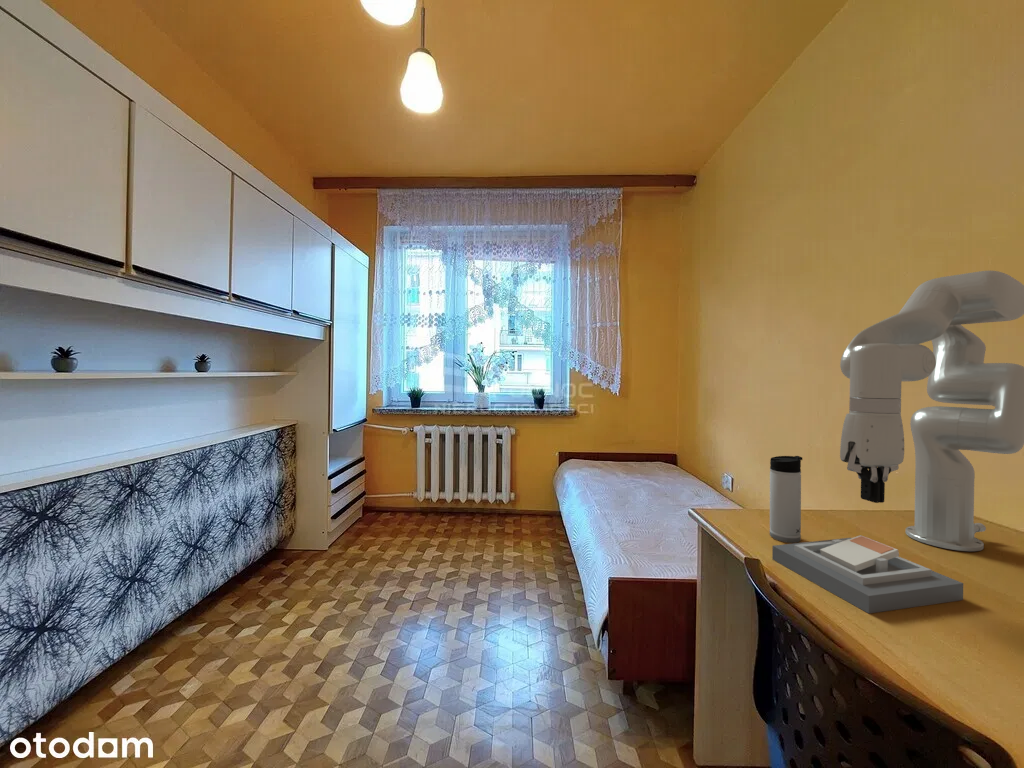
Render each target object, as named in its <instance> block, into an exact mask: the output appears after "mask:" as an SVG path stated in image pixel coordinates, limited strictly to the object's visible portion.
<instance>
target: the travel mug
mask: <svg viewBox="0 0 1024 768" xmlns="http://www.w3.org/2000/svg"><path fill="white" fill-rule="evenodd" d="M769 460H770V461H769V464H770V465H769V536H770V537H771V538H772V537H773V538H772V539H774V540H776V541H780V542H783V543H787V544H794V543H800V541H801V539H802V538H801V537H802V535H801V533H802V531H801V527H802V522H801V521H802V520H801V519H802V516H801V515H802V510H801V509H802V492H801V491H802V470H801V467H802V463H801V462H802V461H803V457H802V456H799V455H778V456H773V457H771V458H770V459H769Z"/></svg>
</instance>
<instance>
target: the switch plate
mask: <svg viewBox="0 0 1024 768" xmlns="http://www.w3.org/2000/svg"><path fill="white" fill-rule="evenodd" d="M851 538H852V537H844V538H843V537H842V538H833V539H824V540H814V541H804V542H797V543H787V544H786V543H785V544H778V545H777V544H776V545H772V557H771V558H772V560H773V561H774V560H775V561H774V562H776V561H777V563H778V564H780V565H781V566H783V567H785V568H787V569H789V570H790V571H792V572H794V573H795V574H798V575H800V576H801V577H803V578H805V580H808V581H810V582H811V583H813V584H815V585H817V586H819V587H820V588H823V589H824V590H826V591H828V592H830V593H832V594H833V595H835V596H836V597H839V598H840V599H842V600H844V601H846V602H847V603H848V604H851V605H853V606H855V607H856V608H858V609H860V610H861V611H863V612H865V613H867V614H873V613H874V614H875V613H882V612H888V611H889V612H890V611H896V610H903V609H910V608H917V607H923V606H929V605H936V604H937V605H938V604H939V605H940V604H944V603H951V602H952V603H953V602H960V601H964V583H963V582H961V581H959V580H956V579H954V578H952V577H950V576H946V575H944V574H942V573H940V572H936V571H934V570H932V569H931V568H928V567H925V566H923V565H921V564H918V563H915V562H913V561H911V560H909V559H906V558H904V557H901V556H900V555H899V556H897V557H894V558H892V559H889V560H887V559H884V558H879V559H876V565H873V566H870V567H867V568H865V569H862V570H859V571H857V572H855V571H853V570H851V569H849V568H847V567H845V566H843V565H841V564H839V563H836V562H834V561H832V560H830V559H828V558H826V557H824V556H822V555H821V553H820V549H823V548H825V547H828V546H831V545H834V544H837V543H840V542H842V541H845V540H848V539H851Z"/></svg>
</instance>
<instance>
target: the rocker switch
mask: <svg viewBox="0 0 1024 768" xmlns="http://www.w3.org/2000/svg"><path fill="white" fill-rule="evenodd" d="M850 538H851V539H848V540H845V541H842V542H840V543H837V544H834V545H831V546H828V547H825V548H823V549H820V553H821V555H822V556H824V557H826V558H828V559H830V560H832V561H834V562H836V563H839V564H841V565H843V566H845V567H847V568H849V569H851V570H853V571H855V572H857V571H859V570H862V569H865V568H867V567H870V566H873V565H876V559H879V558H884V559H887V560H889V559H892V558H894V557H897V556H899V557H900V553H899V549H897V548H894V547H893V546H889V545H887V544H885V543H882V542H879V541H876V540H874V539H871V538H869V537H867V536H863V535H861V534H860V535H857V536H854V537H850Z"/></svg>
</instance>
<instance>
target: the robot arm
mask: <svg viewBox="0 0 1024 768" xmlns="http://www.w3.org/2000/svg"><path fill="white" fill-rule="evenodd" d="M1023 316H1024V284H1023V283H1022V282H1020V281H1019V280H1017V278H1014V277H1012V276H1011V275H1010V274H1007V273H1005V272H1003V271H998V270H980V271H975V272H968V273H967V272H966V273H960V274H955V275H946V276H941V277H936V278H932V279H929V280H926V281H924V282H922V283H921V284H919V285H918V286H917V287H916V289H915V290H914V291H913V293H911V295H910V297H909V298H908V299H907V301H906V302H905V304H904V305H903V307H902V308H901V309H900V310H899V312H898V313H896V314H894V315H892V316H889V317H887V318H884V319H883V320H881V321H879V322H876V323H874V324H873V325H870V326H868V327H866V328H864V329H863V330H861V331H860V332H858V333H857V334H855V336H854V337H852V339H851V341H850V342H849V343H848V345H847V346H846V348H845V349H844V351H843V353H842V355H841V359H840V363H839V364H840V365H839V367H840V371H841V373H842V374H843V376H844V377H846V378H847V379H849V401H848V402H849V413H846V414H845V416H844V420H843V421H844V422H843V424H842V431H841V437H840V447H839V448H840V449H839V459H840V460H841V461H842V462H843V463H847V466H846V469H847V470H848V471H850V472H854V473H856V474H857V477H858V479H859V480H860V498H861V500H865V501H869V502H871V503H876V504H883V503H884V502H885V494H886V492H885V490H886V489H885V488H886V484H885V483H886V482H888V479H889V474H891V472H895V471H898V470H899V467H900V466H899V465H902V463H903V462H904V457H905V433H904V432H905V431H904V426H903V424H904V423H903V419H902V382H918V381H921V380H924V379H926V378H927V384H926V392H927V396H928V397H929V398H930V399H931V400H932V401H935V402H938V403H945V404H956V405H971V406H972V405H974V406H975V405H976V406H993V407H994V408H993V409H991V408H978V407H977V408H974V407H963V406H962V407H961V406H959V407H957V406H937V405H936V406H927V407H921V408H919V409H917V410H916V411H914V412H913V413H912V415H911V417H910V423H909V424H910V431H911V435H912V441H913V444H914V446H913V447H914V456H915V471H914V474H915V475H914V485H915V486H914V525H910V526H907V527H906V528H905V534H906V535H907V536H908V537H909V538H911V539H913V540H915V541H917V542H919V543H923V544H925V545H926V544H927V545H930V546H934V547H936V548H937V547H938V548H942V549H947V550H952V551H958V552H979V551H982V550H984V548H985V547H984V545H985V544H984V542H983V541H982V540H980V539H978V538H976V537H975V534H977V533H980V532H981V533H982V532H986V530H987V528H986V525H984V524H983V523H981V522H975V521H974V519H975V518H974V517H975V516H974V515H975V512H974V511H975V478H976V477H975V473H976V472H975V469H974V465H973V464H972V463H971V462H970V460H969V459H968V458H967V457H966V456H965V455H964V454H963V452H961V451H973V452H979V453H980V452H981V453H991V454H1002V455H1011V454H1016V453H1018V452H1020V451H1021V450H1022V448H1023V447H1024V366H1023V365H1021V364H1017V363H1012V362H1011V363H1009V362H985V357H986V347H987V346H986V344H985V342H984V341H983V340H982V339H981V338H980V337H979V336H977V335H976V334H975V333H973V332H972V331H970V329H967V328H966V327H965V326H963V325H973V324H984V323H985V324H986V323H998V322H1011V321H1014V320H1018V319H1019V318H1021V317H1023ZM930 341H931V343H932V349H933V350H931V349H930V348H929V347H927V346H925V345H924V343H928V342H930ZM974 522H975V523H974Z"/></svg>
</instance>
